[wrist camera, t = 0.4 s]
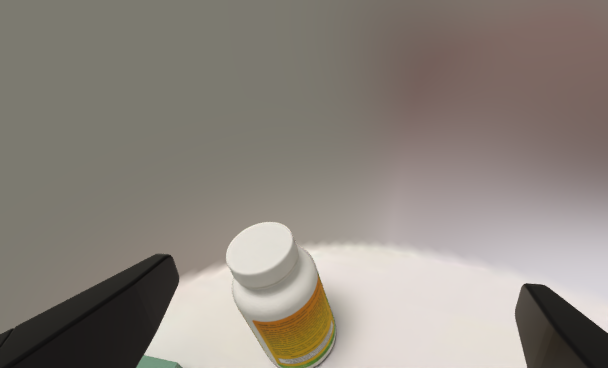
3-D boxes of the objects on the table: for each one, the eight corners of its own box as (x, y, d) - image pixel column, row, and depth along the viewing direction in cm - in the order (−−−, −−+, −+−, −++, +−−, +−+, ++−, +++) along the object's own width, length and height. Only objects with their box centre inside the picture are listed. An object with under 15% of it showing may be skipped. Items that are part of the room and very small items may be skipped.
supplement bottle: (351, 324, 24) (324, 229, 18) (305, 391, 21) (257, 303, 16) (297, 291, 27) (260, 203, 22) (251, 346, 24) (195, 260, 19)
